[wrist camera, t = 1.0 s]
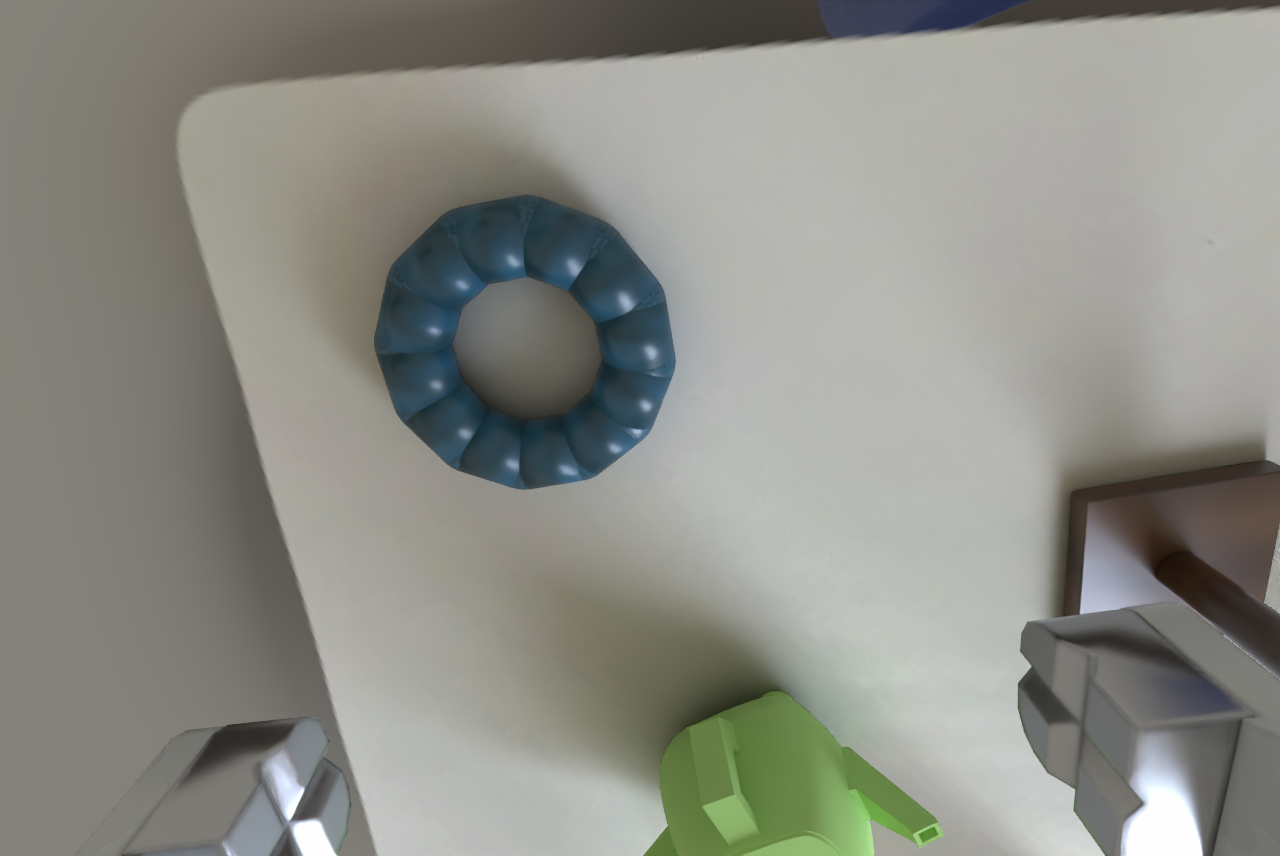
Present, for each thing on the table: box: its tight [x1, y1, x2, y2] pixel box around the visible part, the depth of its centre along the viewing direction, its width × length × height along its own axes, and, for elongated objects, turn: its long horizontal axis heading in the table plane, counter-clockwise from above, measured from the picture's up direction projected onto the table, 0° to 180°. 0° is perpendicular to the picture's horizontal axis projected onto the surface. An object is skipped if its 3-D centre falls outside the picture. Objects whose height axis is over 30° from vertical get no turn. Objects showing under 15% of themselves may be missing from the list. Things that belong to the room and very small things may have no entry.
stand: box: [1064, 460, 1280, 679], centre depth 27 cm, size 9×9×12 cm
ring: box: [374, 195, 676, 490], centre depth 27 cm, size 12×12×3 cm
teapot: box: [643, 691, 944, 856], centre depth 33 cm, size 12×12×10 cm
